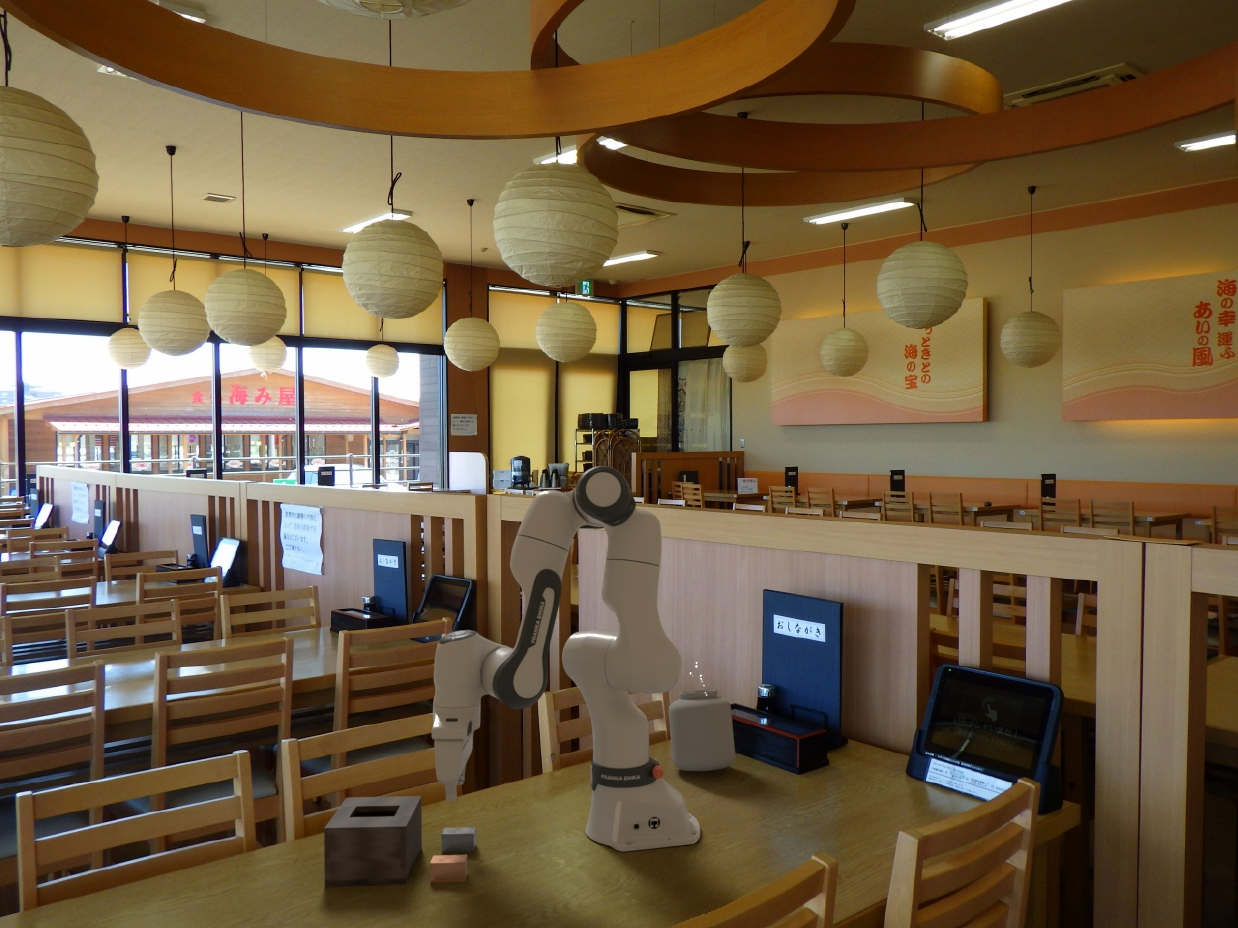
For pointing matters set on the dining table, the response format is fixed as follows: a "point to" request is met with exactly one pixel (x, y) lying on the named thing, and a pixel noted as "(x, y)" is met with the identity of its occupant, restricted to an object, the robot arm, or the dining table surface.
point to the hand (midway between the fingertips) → (455, 791)
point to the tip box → (373, 841)
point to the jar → (701, 731)
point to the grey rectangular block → (459, 839)
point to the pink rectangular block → (448, 868)
